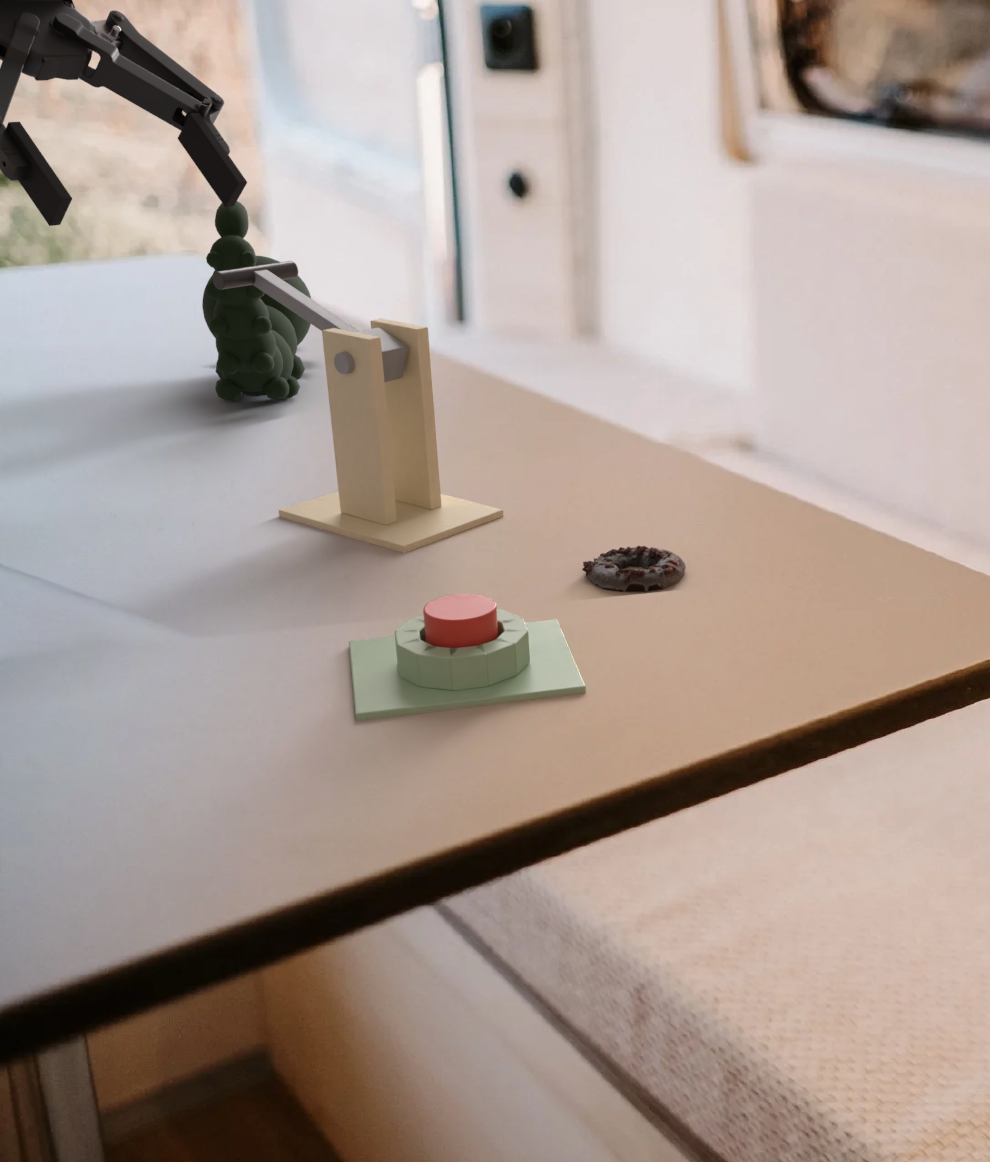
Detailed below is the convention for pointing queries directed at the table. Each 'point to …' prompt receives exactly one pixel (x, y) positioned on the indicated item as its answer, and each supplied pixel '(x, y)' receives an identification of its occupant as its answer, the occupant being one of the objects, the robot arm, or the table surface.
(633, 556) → the donut
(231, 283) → the lever
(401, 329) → the bracket
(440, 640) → the button
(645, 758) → the table surface
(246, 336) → the toy figurine
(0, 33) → the robot arm
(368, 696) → the button block
